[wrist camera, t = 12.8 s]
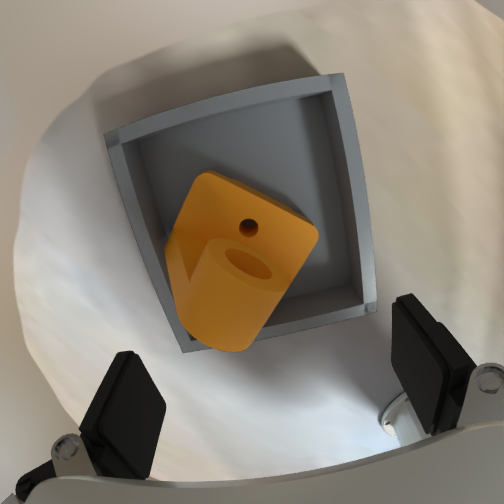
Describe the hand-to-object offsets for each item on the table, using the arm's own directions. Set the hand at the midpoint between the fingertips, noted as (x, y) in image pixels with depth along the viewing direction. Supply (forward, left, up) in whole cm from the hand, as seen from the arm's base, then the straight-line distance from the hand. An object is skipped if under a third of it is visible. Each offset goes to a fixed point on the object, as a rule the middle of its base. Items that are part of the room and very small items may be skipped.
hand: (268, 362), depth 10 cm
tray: (0, 0, -19) cm, 19 cm away
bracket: (+1, +1, -18) cm, 18 cm away
